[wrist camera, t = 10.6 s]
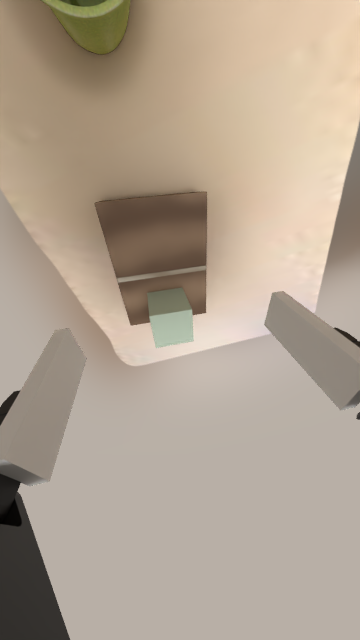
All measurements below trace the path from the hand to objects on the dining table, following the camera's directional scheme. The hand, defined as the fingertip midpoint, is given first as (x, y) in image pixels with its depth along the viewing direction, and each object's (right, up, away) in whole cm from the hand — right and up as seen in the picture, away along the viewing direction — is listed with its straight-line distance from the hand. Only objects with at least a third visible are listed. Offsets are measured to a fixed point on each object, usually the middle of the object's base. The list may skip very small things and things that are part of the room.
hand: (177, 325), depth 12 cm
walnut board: (-3, +9, +15) cm, 18 cm away
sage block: (-2, +3, +15) cm, 15 cm away
